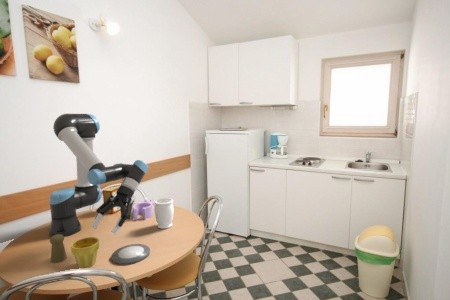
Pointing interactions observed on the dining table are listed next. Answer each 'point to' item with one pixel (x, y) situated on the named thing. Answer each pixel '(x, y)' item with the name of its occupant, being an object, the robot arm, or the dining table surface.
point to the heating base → (130, 254)
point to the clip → (143, 209)
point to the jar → (164, 212)
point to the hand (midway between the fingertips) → (103, 230)
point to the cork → (57, 249)
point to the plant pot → (85, 251)
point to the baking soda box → (107, 194)
